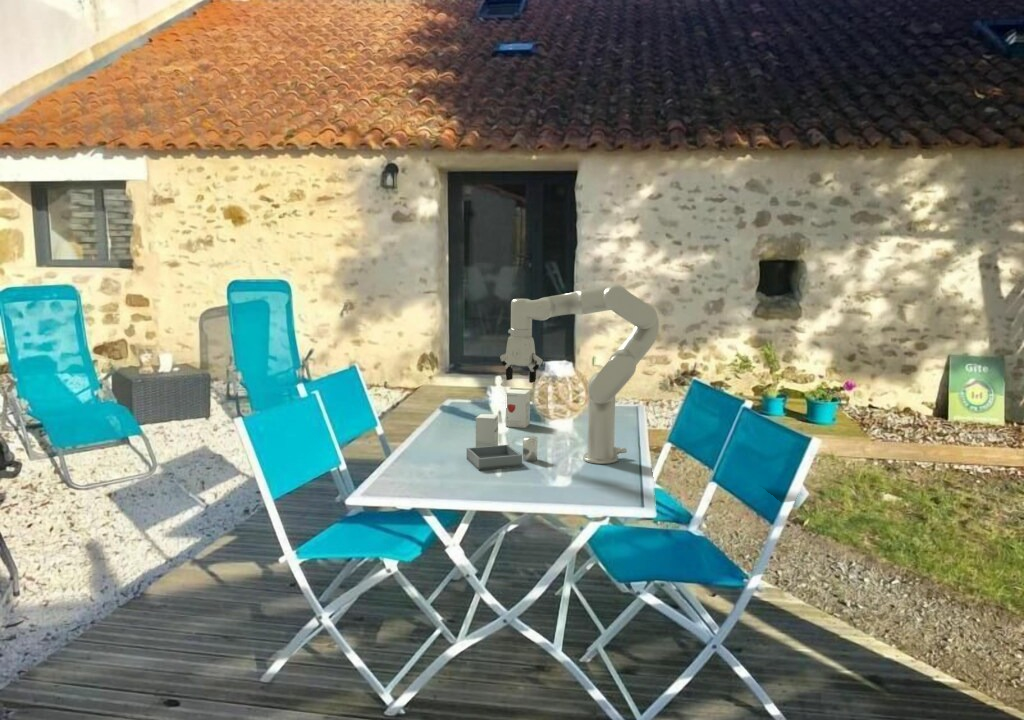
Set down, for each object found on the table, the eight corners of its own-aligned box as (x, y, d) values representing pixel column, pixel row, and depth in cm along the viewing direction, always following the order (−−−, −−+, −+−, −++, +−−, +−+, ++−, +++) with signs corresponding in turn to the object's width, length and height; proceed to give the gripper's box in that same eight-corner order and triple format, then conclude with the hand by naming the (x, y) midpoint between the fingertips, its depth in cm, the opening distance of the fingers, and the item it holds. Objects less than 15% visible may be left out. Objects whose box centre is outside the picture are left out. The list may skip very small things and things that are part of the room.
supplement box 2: (505, 427, 326) (504, 392, 324) (510, 422, 334) (510, 388, 332) (525, 428, 324) (525, 393, 321) (530, 423, 332) (530, 389, 330)
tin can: (534, 457, 278) (534, 435, 277) (539, 461, 273) (539, 439, 272) (520, 458, 276) (520, 436, 275) (525, 462, 272) (525, 440, 270)
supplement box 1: (494, 451, 286) (494, 418, 284) (475, 450, 287) (474, 417, 286) (498, 446, 293) (498, 414, 291) (479, 445, 295) (479, 413, 293)
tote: (507, 455, 281) (507, 444, 280) (522, 466, 266) (522, 455, 266) (466, 458, 276) (466, 448, 275) (478, 470, 261) (478, 459, 261)
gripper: (495, 332, 274) (494, 380, 277) (536, 336, 265) (536, 384, 267) (506, 331, 280) (506, 377, 283) (547, 334, 271) (546, 381, 274)
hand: (520, 380), depth 275 cm, fingers open, 9 cm apart
